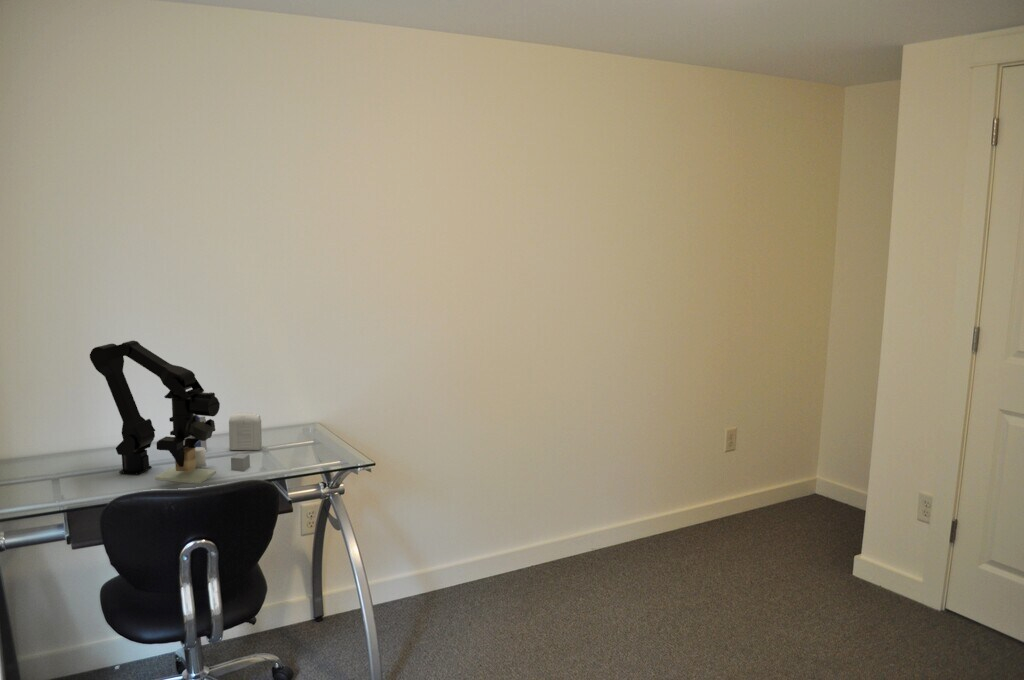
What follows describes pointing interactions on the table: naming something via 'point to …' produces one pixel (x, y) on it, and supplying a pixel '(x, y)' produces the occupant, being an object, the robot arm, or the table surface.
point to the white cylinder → (200, 456)
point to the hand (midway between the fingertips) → (185, 464)
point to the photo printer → (245, 432)
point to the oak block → (187, 460)
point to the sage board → (186, 475)
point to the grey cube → (240, 462)
